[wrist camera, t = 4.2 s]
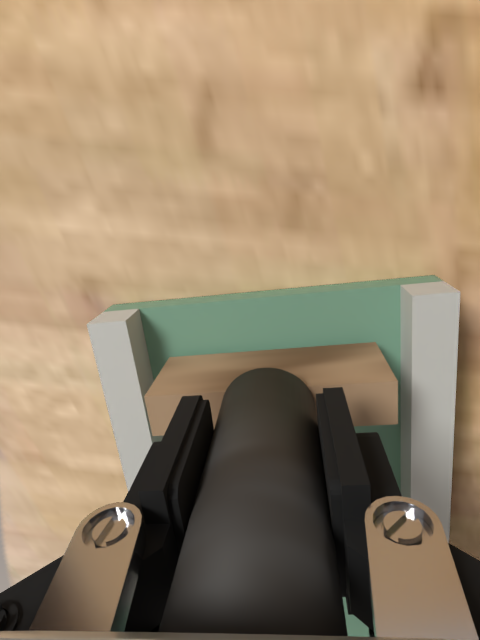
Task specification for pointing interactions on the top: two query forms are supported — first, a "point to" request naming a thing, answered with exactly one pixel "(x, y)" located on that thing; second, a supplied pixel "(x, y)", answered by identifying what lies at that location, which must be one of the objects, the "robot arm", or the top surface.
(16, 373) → the top surface
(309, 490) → the striker
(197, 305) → the pitch
